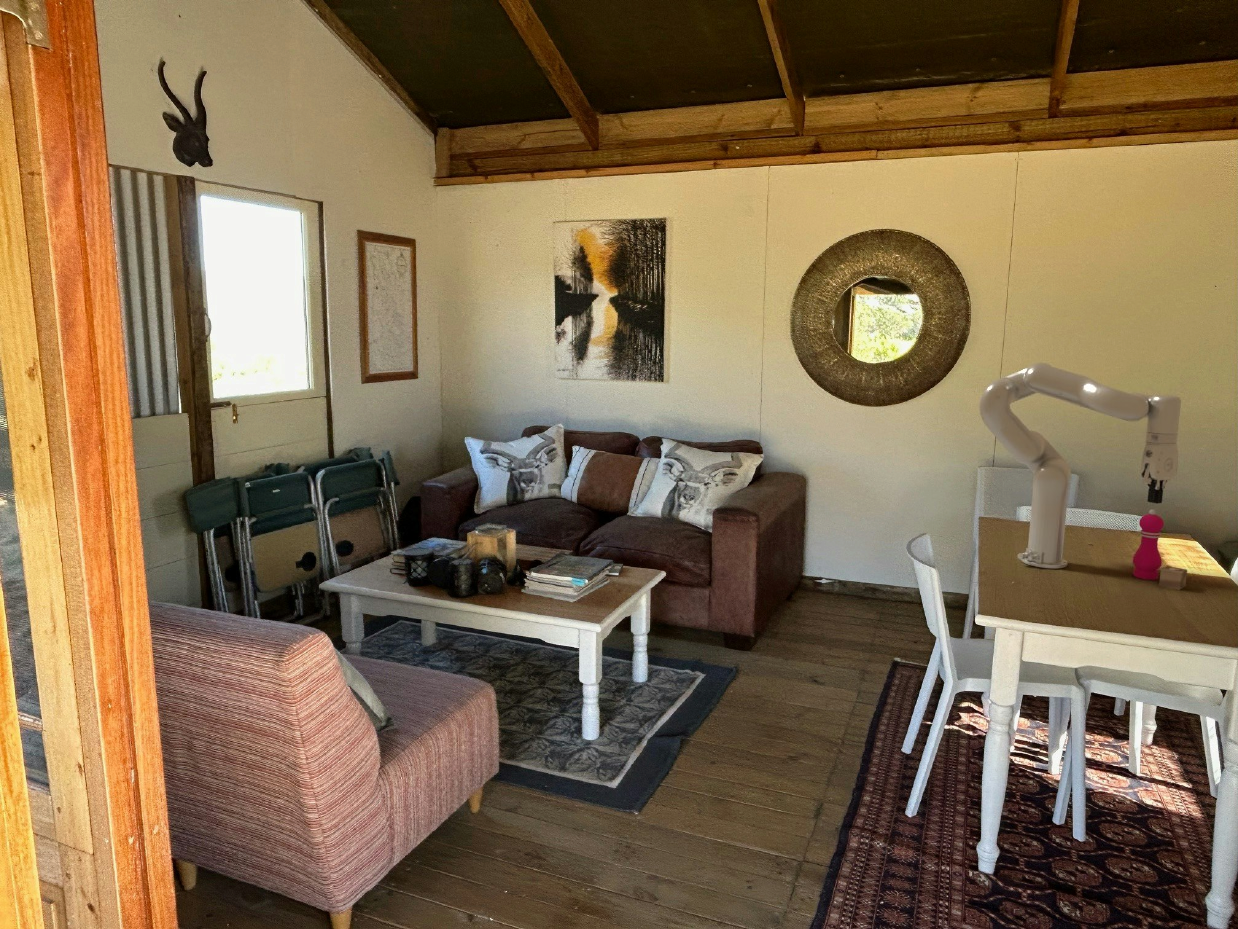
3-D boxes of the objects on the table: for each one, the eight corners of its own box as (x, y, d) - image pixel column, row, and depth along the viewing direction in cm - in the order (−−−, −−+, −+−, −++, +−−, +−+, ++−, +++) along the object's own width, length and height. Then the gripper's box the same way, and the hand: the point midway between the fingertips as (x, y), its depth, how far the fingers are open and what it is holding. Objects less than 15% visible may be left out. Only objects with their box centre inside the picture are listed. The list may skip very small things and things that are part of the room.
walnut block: (1179, 590, 240) (1181, 572, 239) (1159, 586, 244) (1161, 568, 243) (1185, 586, 243) (1187, 569, 242) (1165, 582, 247) (1167, 565, 246)
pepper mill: (1164, 581, 248) (1172, 512, 244) (1136, 579, 249) (1144, 511, 246) (1154, 573, 255) (1161, 507, 251) (1127, 572, 256) (1134, 506, 253)
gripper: (1157, 442, 239) (1150, 507, 242) (1191, 439, 245) (1184, 502, 248) (1131, 438, 245) (1125, 502, 248) (1164, 435, 252) (1158, 497, 255)
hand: (1154, 502), depth 248 cm, fingers closed
